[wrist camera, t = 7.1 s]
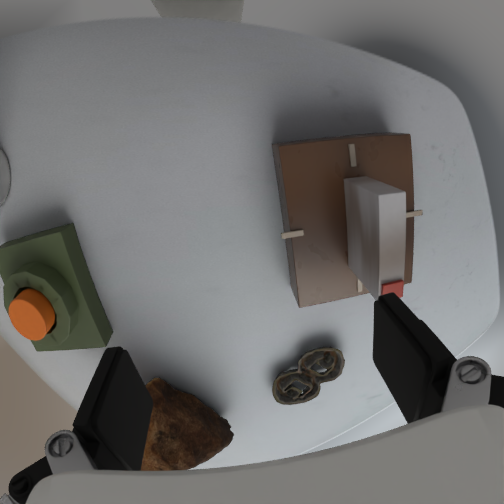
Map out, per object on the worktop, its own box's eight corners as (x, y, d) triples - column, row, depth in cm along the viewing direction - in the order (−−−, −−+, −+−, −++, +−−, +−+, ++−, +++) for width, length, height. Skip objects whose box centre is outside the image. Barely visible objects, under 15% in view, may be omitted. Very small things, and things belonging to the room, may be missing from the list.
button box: (5, 242, 21) (-21, 259, 18) (73, 222, 21) (48, 240, 18) (46, 338, 25) (28, 363, 21) (113, 332, 25) (99, 361, 21)
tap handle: (343, 178, 19) (380, 196, 14) (366, 175, 19) (408, 192, 14) (348, 266, 21) (379, 305, 16) (369, 262, 21) (404, 299, 16)
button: (12, 291, 19) (1, 301, 17) (44, 285, 19) (33, 296, 18) (30, 329, 20) (21, 341, 19) (62, 326, 20) (53, 339, 19)
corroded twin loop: (353, 354, 28) (357, 361, 27) (296, 404, 30) (298, 412, 29) (317, 331, 26) (320, 338, 25) (258, 387, 28) (259, 395, 27)
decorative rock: (114, 384, 27) (86, 472, 17) (147, 354, 26) (120, 453, 16) (205, 437, 31) (204, 519, 21) (243, 415, 30) (250, 504, 20)
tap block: (262, 145, 21) (268, 147, 18) (396, 132, 21) (419, 133, 18) (283, 289, 25) (291, 311, 22) (400, 265, 25) (419, 282, 22)
